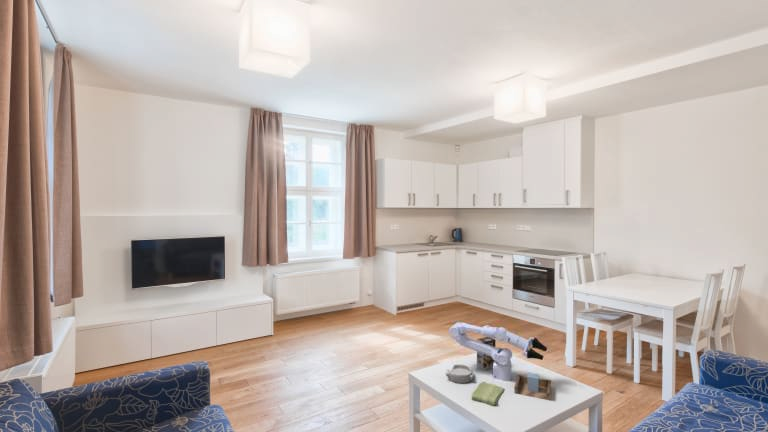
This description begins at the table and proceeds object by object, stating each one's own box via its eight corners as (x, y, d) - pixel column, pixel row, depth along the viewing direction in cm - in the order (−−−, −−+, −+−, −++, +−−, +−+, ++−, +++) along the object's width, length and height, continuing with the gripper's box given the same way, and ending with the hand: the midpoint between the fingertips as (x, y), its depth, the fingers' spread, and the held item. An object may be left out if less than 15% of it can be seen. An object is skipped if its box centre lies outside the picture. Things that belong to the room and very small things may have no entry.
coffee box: (484, 370, 213) (483, 342, 212) (476, 366, 219) (476, 338, 218) (496, 366, 217) (495, 339, 217) (488, 362, 223) (488, 336, 222)
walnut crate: (514, 395, 185) (514, 386, 185) (517, 382, 198) (517, 374, 198) (549, 402, 178) (549, 393, 178) (551, 389, 191) (551, 380, 191)
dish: (444, 382, 201) (444, 372, 200) (449, 370, 214) (449, 362, 213) (472, 386, 195) (472, 376, 195) (475, 374, 208) (475, 365, 208)
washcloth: (505, 391, 190) (505, 385, 190) (496, 408, 175) (496, 401, 175) (480, 385, 197) (480, 379, 197) (469, 400, 182) (469, 394, 182)
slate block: (527, 390, 188) (527, 376, 188) (528, 386, 192) (528, 372, 192) (538, 392, 186) (538, 378, 185) (538, 387, 190) (538, 374, 190)
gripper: (515, 343, 190) (543, 356, 183) (523, 328, 201) (550, 339, 194) (512, 354, 193) (539, 366, 186) (520, 338, 204) (546, 350, 197)
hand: (544, 353), depth 190 cm, fingers open, 7 cm apart
